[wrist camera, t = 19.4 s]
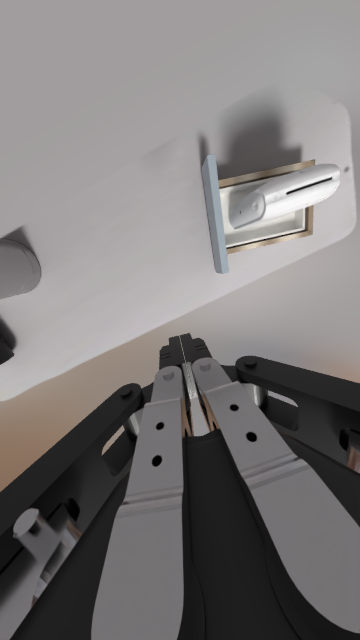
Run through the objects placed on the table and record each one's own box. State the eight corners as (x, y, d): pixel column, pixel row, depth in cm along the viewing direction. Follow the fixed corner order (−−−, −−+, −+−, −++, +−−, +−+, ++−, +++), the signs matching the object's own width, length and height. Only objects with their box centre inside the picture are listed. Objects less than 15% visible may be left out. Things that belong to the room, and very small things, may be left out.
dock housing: (299, 169, 32) (315, 159, 28) (298, 237, 35) (312, 234, 32) (212, 188, 31) (218, 180, 28) (220, 254, 35) (226, 254, 32)
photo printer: (230, 234, 33) (268, 220, 21) (225, 207, 31) (263, 177, 20) (284, 215, 33) (352, 192, 21) (281, 188, 31) (353, 147, 20)
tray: (294, 148, 30) (312, 132, 26) (293, 254, 36) (309, 253, 32) (201, 168, 30) (207, 155, 26) (215, 272, 36) (222, 273, 32)
